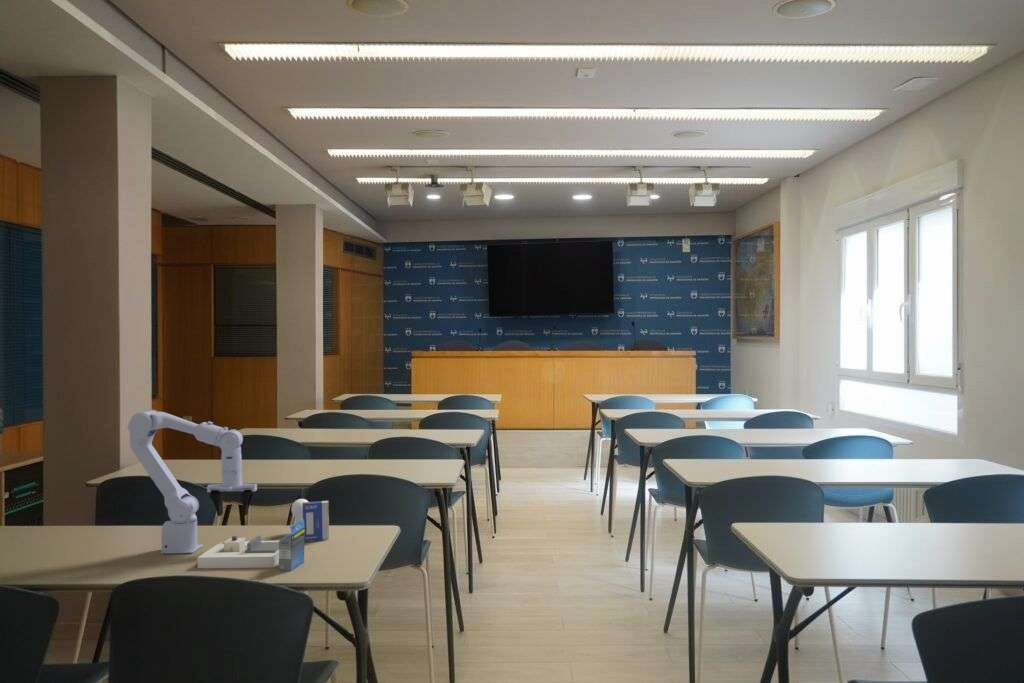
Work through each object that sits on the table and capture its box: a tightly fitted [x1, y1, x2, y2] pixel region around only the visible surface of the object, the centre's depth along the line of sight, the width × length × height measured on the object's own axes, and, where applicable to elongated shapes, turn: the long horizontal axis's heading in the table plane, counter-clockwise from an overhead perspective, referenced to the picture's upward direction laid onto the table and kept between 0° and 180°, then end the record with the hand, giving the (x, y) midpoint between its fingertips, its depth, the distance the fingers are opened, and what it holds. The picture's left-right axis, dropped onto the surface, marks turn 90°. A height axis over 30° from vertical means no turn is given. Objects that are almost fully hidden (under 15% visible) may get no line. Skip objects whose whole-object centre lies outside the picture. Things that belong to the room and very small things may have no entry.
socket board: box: [197, 540, 279, 569], centre depth 213 cm, size 21×16×3 cm
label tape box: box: [278, 519, 305, 572], centre depth 205 cm, size 9×4×12 cm, turn 172°
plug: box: [224, 535, 246, 552], centre depth 213 cm, size 4×5×6 cm
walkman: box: [303, 500, 330, 542], centre depth 232 cm, size 8×3×12 cm, turn 103°
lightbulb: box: [290, 498, 309, 529], centre depth 241 cm, size 6×6×11 cm
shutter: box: [245, 535, 279, 553], centre depth 213 cm, size 8×8×3 cm
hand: (232, 515), depth 225 cm, fingers open, 7 cm apart
